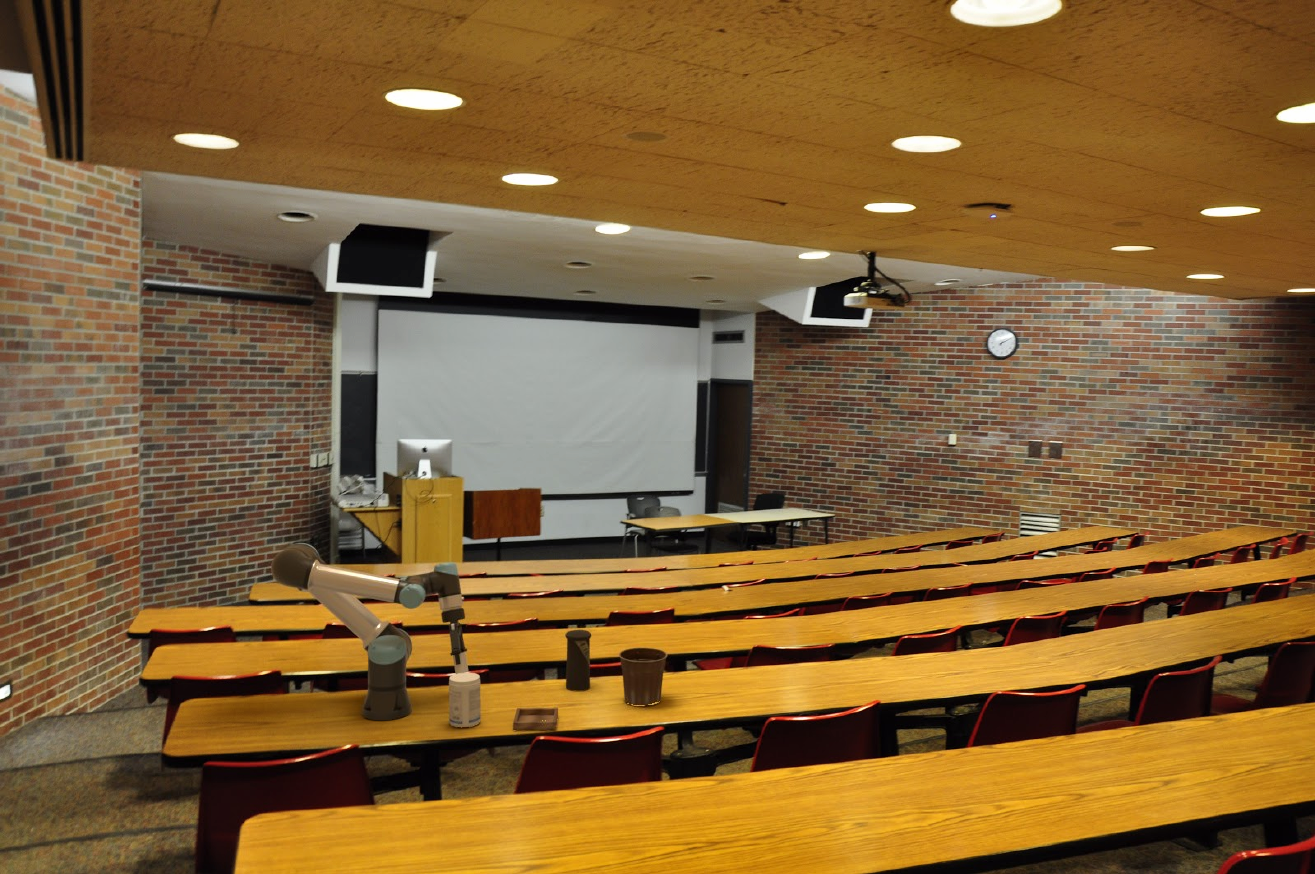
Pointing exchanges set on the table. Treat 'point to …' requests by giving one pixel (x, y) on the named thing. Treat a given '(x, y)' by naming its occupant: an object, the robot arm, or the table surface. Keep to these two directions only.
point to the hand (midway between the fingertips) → (462, 673)
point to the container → (578, 660)
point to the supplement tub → (464, 700)
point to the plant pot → (642, 674)
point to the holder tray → (535, 719)
